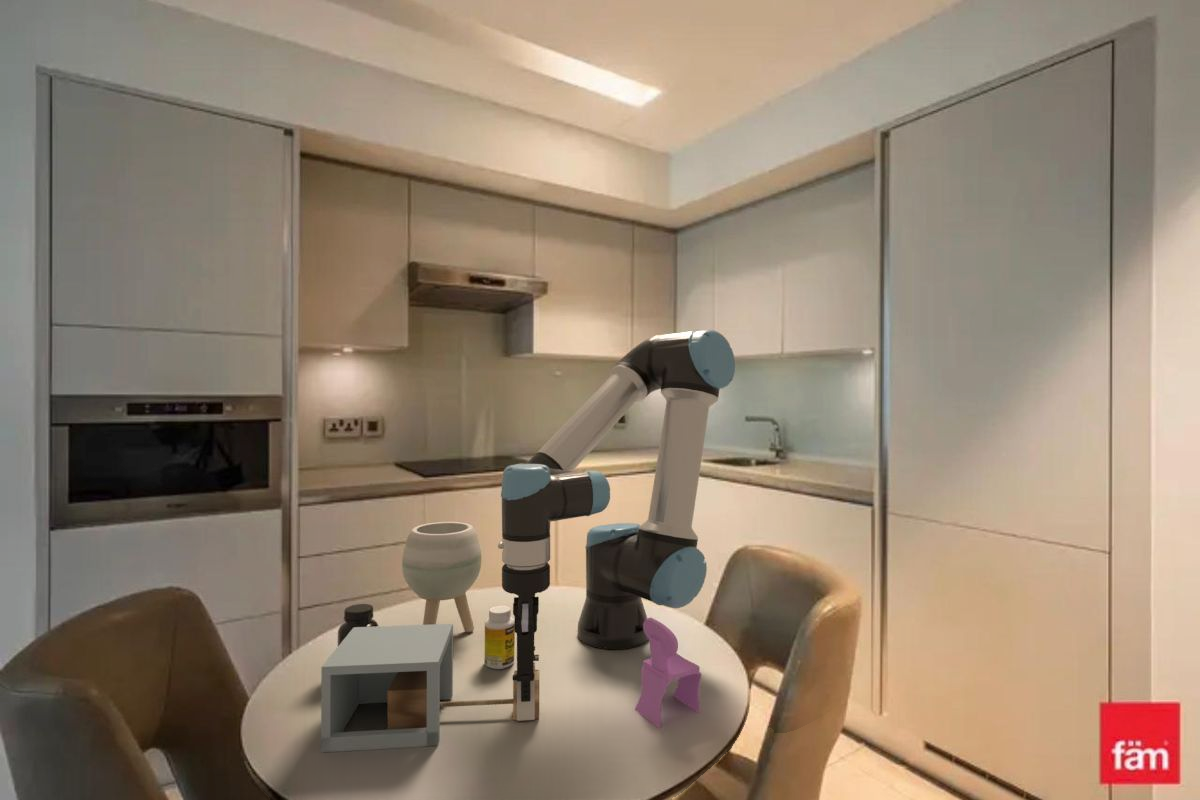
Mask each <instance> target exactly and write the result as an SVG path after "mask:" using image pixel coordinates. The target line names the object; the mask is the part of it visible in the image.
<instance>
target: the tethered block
mask: <svg viewBox="0 0 1200 800" xmlns="http://www.w3.org/2000/svg"><path fill="white" fill-rule="evenodd" d="M540 672H541V671H540V669H535V670H534V673H535V720H540V680H541V679H540ZM513 675H517V670H514V672H513ZM512 685H513V686H512V696H513V697H512V698H503V699H502V698H501V699H500V698H499V699H480V700H479V699H476V700H458V701H457V700H456V701H454V700H453V701H440V708H449V707H451V708H452V707H473V706H490V705H491V706H493V705H494V706H495V705H512V720H513V721H517V680H513V679H512ZM410 728H427V671H409V672H398V673H397V674H396V676H395V678H394V680H393V682H392V684H391V686H390V687H389V689H388V702H387V730H392V729H410Z"/></svg>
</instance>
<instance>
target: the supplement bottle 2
mask: <svg viewBox="0 0 1200 800" xmlns="http://www.w3.org/2000/svg"><path fill="white" fill-rule="evenodd" d="M488 611H489V613H488V618H487V619H486V620H485V622H484V665H485V666H486V667H488V668H489V669H493V670H501V669H507V668H509V667H511V666H512V665H513V664H514V662H515V644H516V643H515V642H516V641H515V634H516V633H515V618H513V617H512V616H511V615H512V612H511V611H512V610H511V607H509V606H507V605H496V606H495V605H494V606H493V607H491V608H489V610H488Z"/></svg>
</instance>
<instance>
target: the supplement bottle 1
mask: <svg viewBox="0 0 1200 800" xmlns="http://www.w3.org/2000/svg"><path fill="white" fill-rule="evenodd" d="M343 614H344V616H343V621H344V622H343V623H342V624H341V625H340V626H339V627H338V630H337V647H338V646H339V645H340V644H341V642H342V641H343V640H344V639H345V637H346V636H347V635H348V634H349V632H350V631H351V630H352V629H353V628H354V627H376V626H379V623H378V622H377V621H376V620H375V619H373V618H374V606H373V605H372V604H368V603H359V604H352V605H350V606H347V607H346V608H344V613H343ZM337 647H336V648H337Z"/></svg>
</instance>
